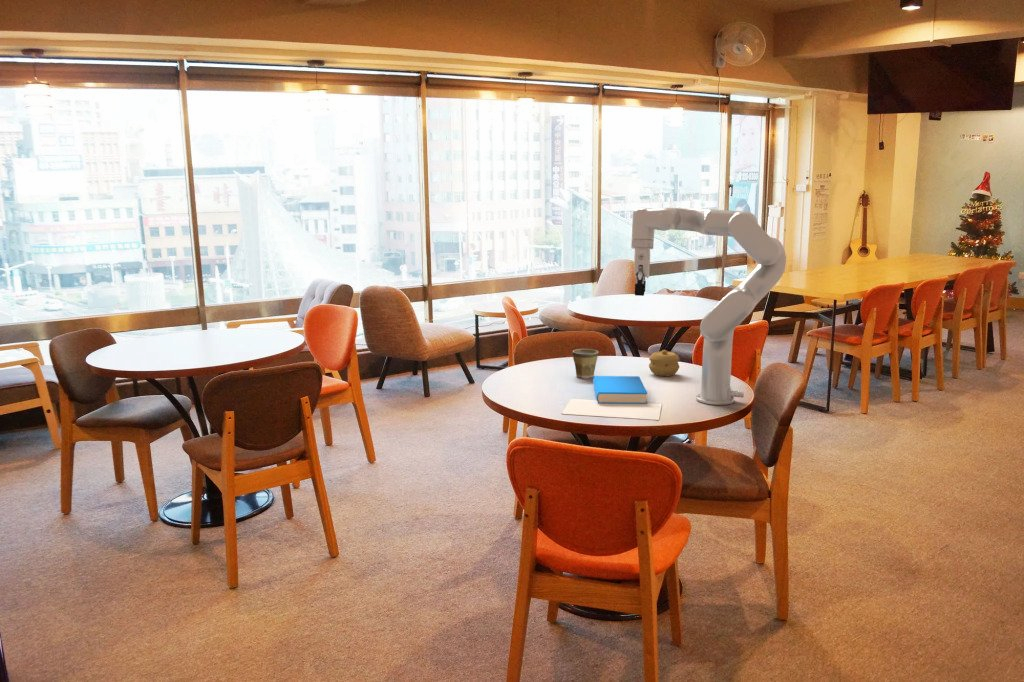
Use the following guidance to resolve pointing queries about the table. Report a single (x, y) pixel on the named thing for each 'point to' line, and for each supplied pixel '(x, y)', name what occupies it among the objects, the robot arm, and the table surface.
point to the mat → (613, 409)
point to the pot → (664, 363)
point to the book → (619, 390)
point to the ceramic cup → (585, 362)
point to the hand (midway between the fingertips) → (639, 293)
